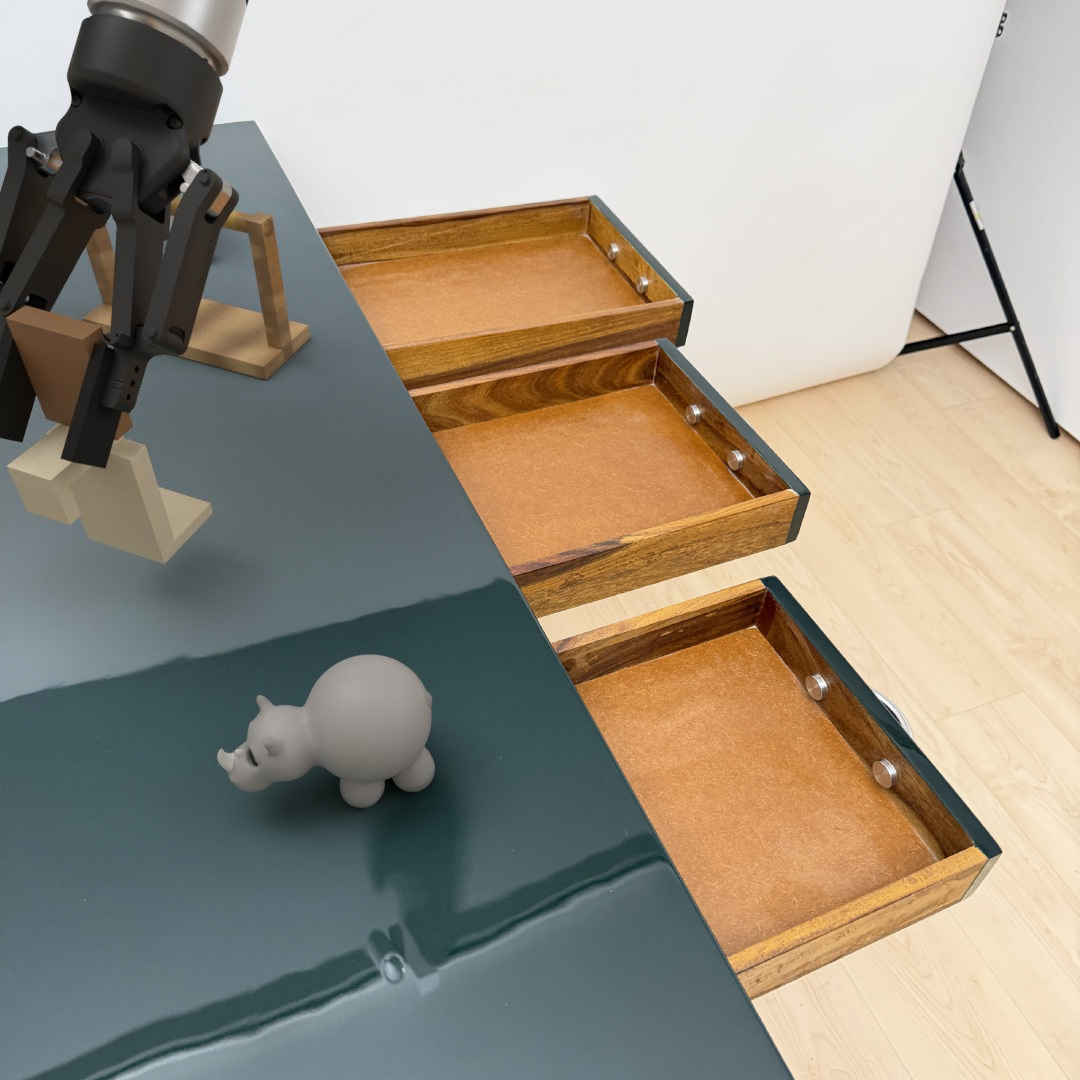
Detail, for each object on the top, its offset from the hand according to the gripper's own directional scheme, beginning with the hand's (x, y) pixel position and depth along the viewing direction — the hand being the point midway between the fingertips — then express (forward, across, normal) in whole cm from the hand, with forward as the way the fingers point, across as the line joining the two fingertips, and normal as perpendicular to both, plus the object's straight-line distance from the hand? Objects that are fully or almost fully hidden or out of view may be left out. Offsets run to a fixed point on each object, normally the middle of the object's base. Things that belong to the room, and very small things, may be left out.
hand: (41, 449), depth 50 cm
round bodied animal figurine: (+14, -19, -8) cm, 25 cm away
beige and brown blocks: (+5, 0, -10) cm, 11 cm away
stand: (-13, +17, -35) cm, 41 cm away
